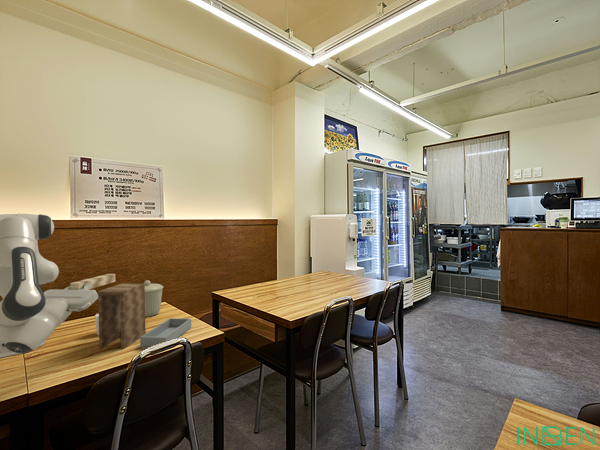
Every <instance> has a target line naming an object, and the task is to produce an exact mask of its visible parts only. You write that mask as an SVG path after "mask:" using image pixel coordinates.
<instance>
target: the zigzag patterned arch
mask: <svg viewBox="0 0 600 450" xmlns="http://www.w3.org/2000/svg"><path fill="white" fill-rule="evenodd" d="M97 294H98V299H97V300H98V303H97V304H98V314H99V336H98V342H99V347H98V348H99V349H103V348H105V347H107V346H108V345H110V344H112V343H113V342H115V341H117V340H118V339H120V349H123V350H124V349H126V348H128V347H129V346H130V345H132V344H133V343H135V342H137V341H138V340H140V337H141V336H143V335H144V334H146V333H147V332H146V317H145V284H144V283H119V284H115V285H113V286H111V287H107V288H103V289H101V290H98V292H97Z"/></svg>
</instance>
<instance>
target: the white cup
mask: <svg viewBox="0 0 600 450" xmlns="http://www.w3.org/2000/svg"><path fill="white" fill-rule="evenodd" d="M94 321H95V328H96V329H95V330H96V335H97V336H98V337H99V313H96V314H95V315H94Z"/></svg>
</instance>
